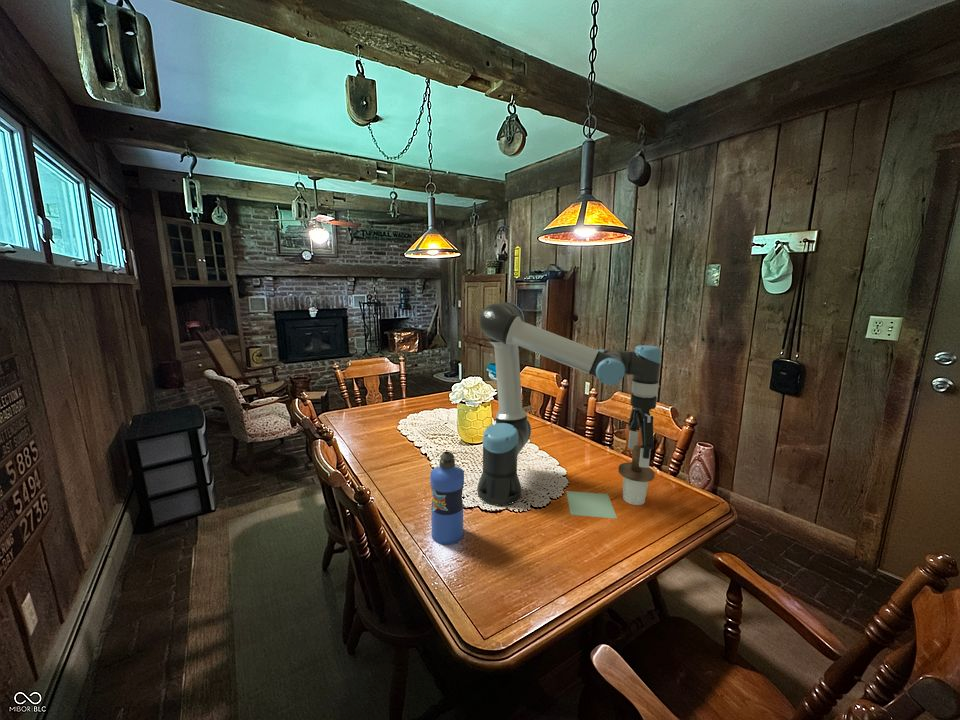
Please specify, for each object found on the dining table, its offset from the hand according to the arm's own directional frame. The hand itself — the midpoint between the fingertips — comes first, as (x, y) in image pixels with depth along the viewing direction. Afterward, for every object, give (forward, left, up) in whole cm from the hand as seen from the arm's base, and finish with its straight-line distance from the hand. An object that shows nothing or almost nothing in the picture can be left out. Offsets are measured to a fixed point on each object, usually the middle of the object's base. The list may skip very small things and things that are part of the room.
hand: (637, 457), depth 122 cm
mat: (-15, -5, -16) cm, 22 cm away
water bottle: (-58, -26, -16) cm, 65 cm away
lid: (0, 0, -6) cm, 6 cm away
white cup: (0, 0, -16) cm, 16 cm away
